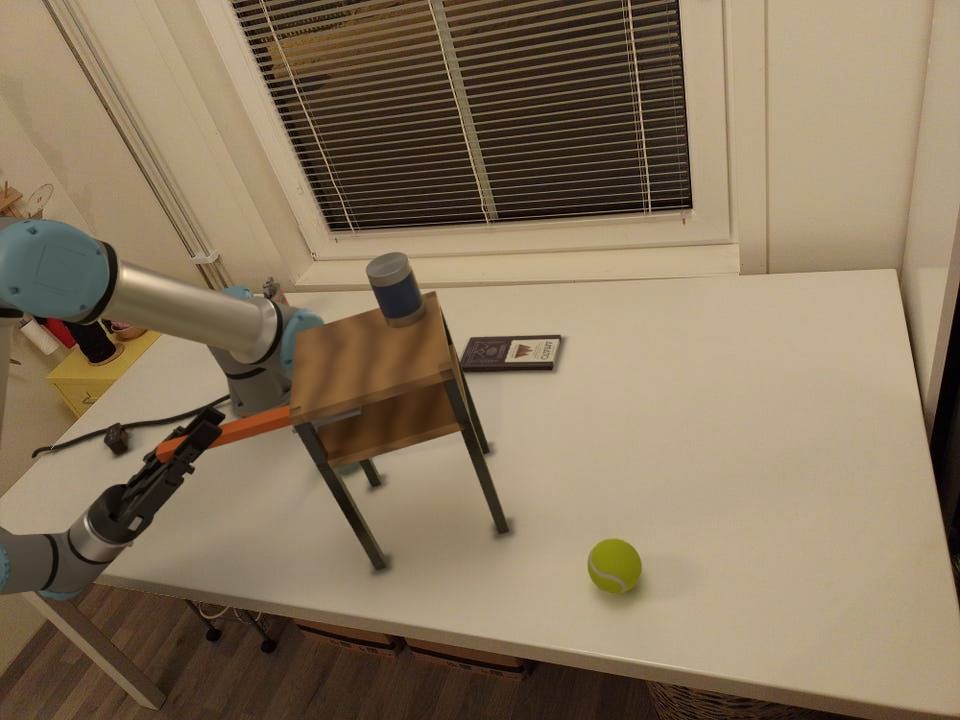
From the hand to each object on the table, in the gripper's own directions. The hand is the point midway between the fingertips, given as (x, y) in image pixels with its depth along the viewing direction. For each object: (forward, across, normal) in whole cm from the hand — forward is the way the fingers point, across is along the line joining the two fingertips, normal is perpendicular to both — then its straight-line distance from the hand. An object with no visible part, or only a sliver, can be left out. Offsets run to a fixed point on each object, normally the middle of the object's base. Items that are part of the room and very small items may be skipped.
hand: (214, 419), depth 89 cm
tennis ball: (+23, +19, -47) cm, 56 cm away
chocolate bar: (+19, -33, -45) cm, 59 cm away
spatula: (+2, 0, -5) cm, 6 cm away
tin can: (+24, -7, -12) cm, 28 cm away
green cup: (-8, -19, -29) cm, 35 cm away
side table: (+4, -2, -36) cm, 36 cm away
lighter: (-22, -71, -21) cm, 77 cm away
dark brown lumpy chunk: (-50, -41, -5) cm, 65 cm away
